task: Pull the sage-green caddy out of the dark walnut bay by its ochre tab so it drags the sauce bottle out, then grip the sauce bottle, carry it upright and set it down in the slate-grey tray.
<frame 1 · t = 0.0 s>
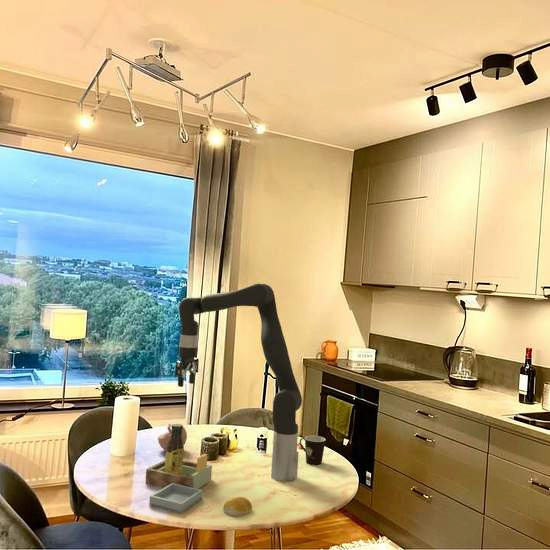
hand: (186, 385, 216), 29 cm above the table, tool pointing down, fingers open, 8 cm apart
pinkish brown apple: (171, 451, 221), on the table
coffee mug: (312, 462, 218), on the table
sauce bottle: (172, 480, 189), resting in caddy
walnut bay: (178, 481, 188), on the table
bread roll: (237, 512, 167), on the table
tray: (176, 502, 170), on the table
caddy: (182, 466, 188), point 6 cm above the table, slide at 0.0 cm
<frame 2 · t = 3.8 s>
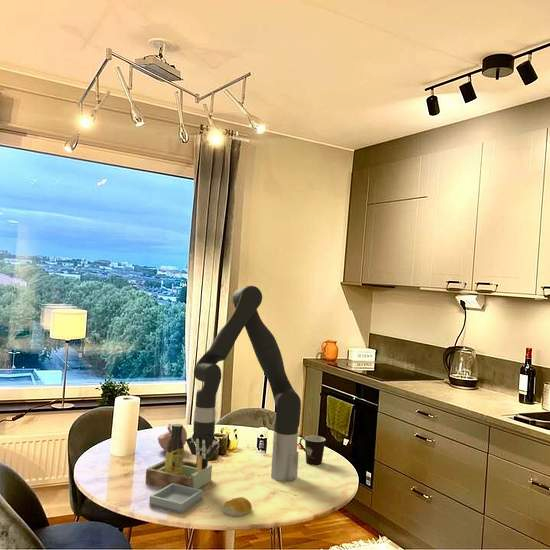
hand: (201, 467, 185), 7 cm above the table, tool pointing down, fingers closed
caddy: (182, 466, 188), point 6 cm above the table, slide at 0.0 cm, touching gripper
everything else where it was.
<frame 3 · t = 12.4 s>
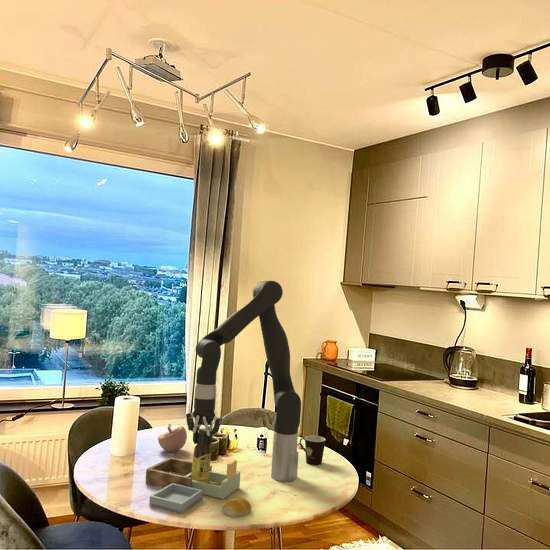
hand: (202, 444, 185), 15 cm above the table, tool pointing down, fingers closed on sauce bottle, 4 cm apart
sauce bottle: (199, 486, 185), resting in caddy, touching gripper
caddy: (211, 472, 183), point 6 cm above the table, slide at 11.8 cm
everything else where it was.
when the fingers open (17 cm above the table, at t = 20.4 s): sauce bottle drops 2 cm, resting on tray.
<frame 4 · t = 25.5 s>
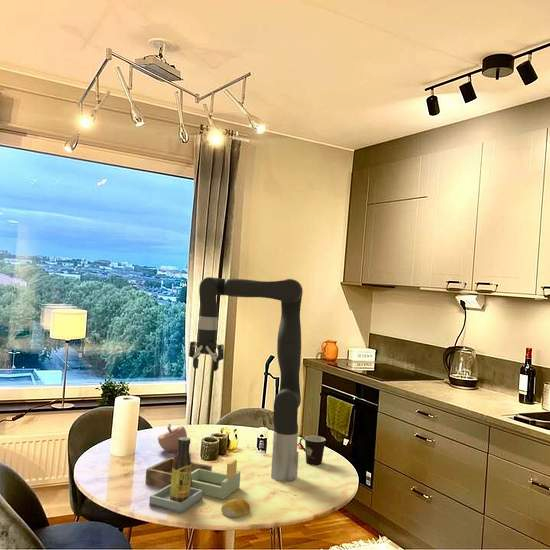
hand: (205, 369, 204), 38 cm above the table, tool pointing down, fingers open, 8 cm apart
sauce bottle: (179, 500, 170), point 1 cm above the table, touching tray
at the end: sauce bottle 1.1 cm off-centre on the tray, point 0.6 cm above the tray's base; sauce bottle tilted 0°; caddy slide at 11.8 cm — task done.
